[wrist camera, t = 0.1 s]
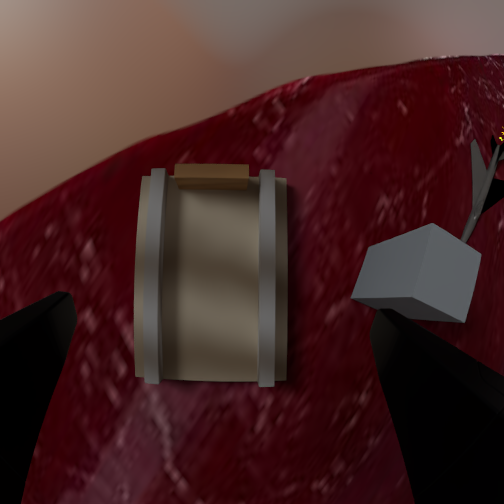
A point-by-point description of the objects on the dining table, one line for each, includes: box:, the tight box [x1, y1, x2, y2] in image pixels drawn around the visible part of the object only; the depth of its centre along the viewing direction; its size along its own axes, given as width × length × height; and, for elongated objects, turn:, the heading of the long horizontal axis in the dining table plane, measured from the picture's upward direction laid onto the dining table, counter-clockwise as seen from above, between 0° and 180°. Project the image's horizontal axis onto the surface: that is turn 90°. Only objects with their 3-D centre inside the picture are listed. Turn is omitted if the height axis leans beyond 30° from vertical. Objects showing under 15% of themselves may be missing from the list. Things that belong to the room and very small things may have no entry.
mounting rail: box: [134, 164, 288, 387], centre depth 22 cm, size 15×11×4 cm
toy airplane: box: [460, 133, 504, 243], centre depth 26 cm, size 8×21×2 cm, turn 141°
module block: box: [351, 223, 481, 323], centre depth 20 cm, size 5×4×9 cm
